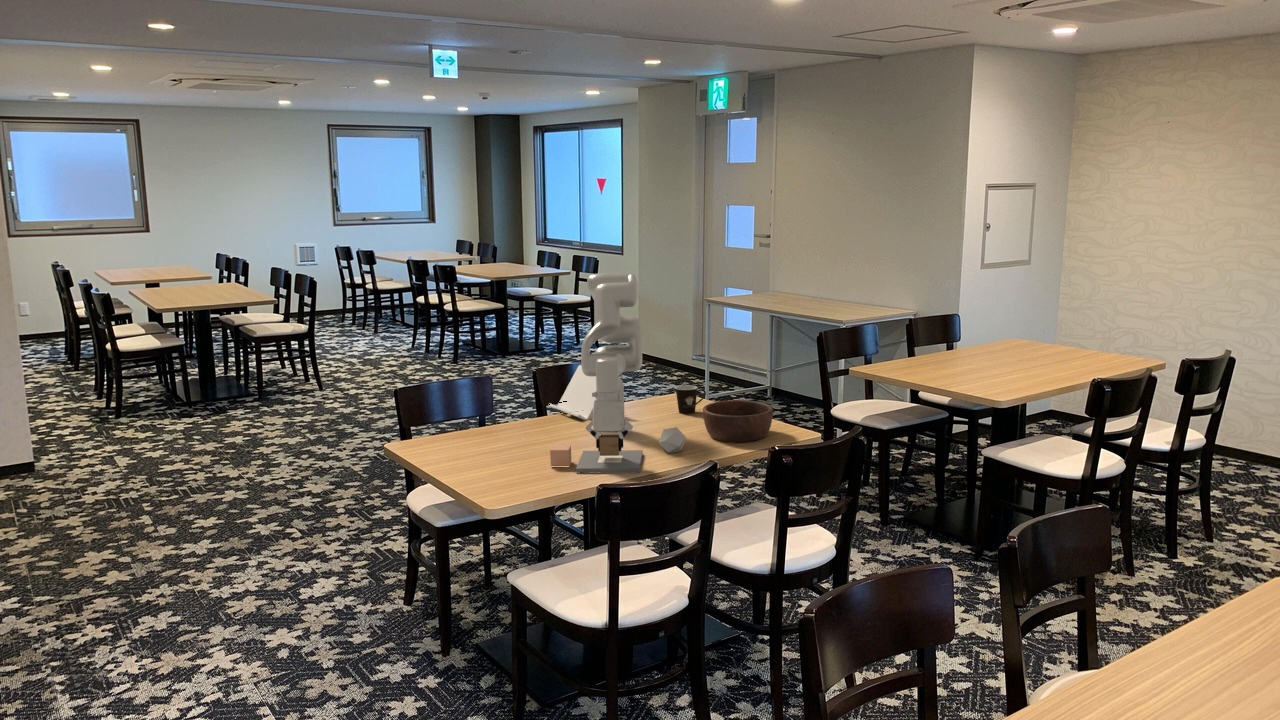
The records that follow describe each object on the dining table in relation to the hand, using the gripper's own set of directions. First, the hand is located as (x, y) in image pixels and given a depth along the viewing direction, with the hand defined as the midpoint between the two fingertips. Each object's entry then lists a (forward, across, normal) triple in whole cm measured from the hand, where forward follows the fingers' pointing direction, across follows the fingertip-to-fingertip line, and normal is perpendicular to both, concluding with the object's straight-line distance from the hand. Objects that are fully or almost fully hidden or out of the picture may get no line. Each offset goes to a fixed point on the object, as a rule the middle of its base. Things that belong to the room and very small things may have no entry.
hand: (609, 449), depth 307 cm
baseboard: (+5, 0, 0) cm, 5 cm away
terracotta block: (+5, -16, -1) cm, 17 cm away
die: (+5, +20, +14) cm, 25 cm away
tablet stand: (+5, -17, +71) cm, 73 cm away
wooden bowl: (+5, +43, +33) cm, 54 cm away
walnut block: (+1, 0, 0) cm, 1 cm away
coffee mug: (+5, +26, +68) cm, 73 cm away
